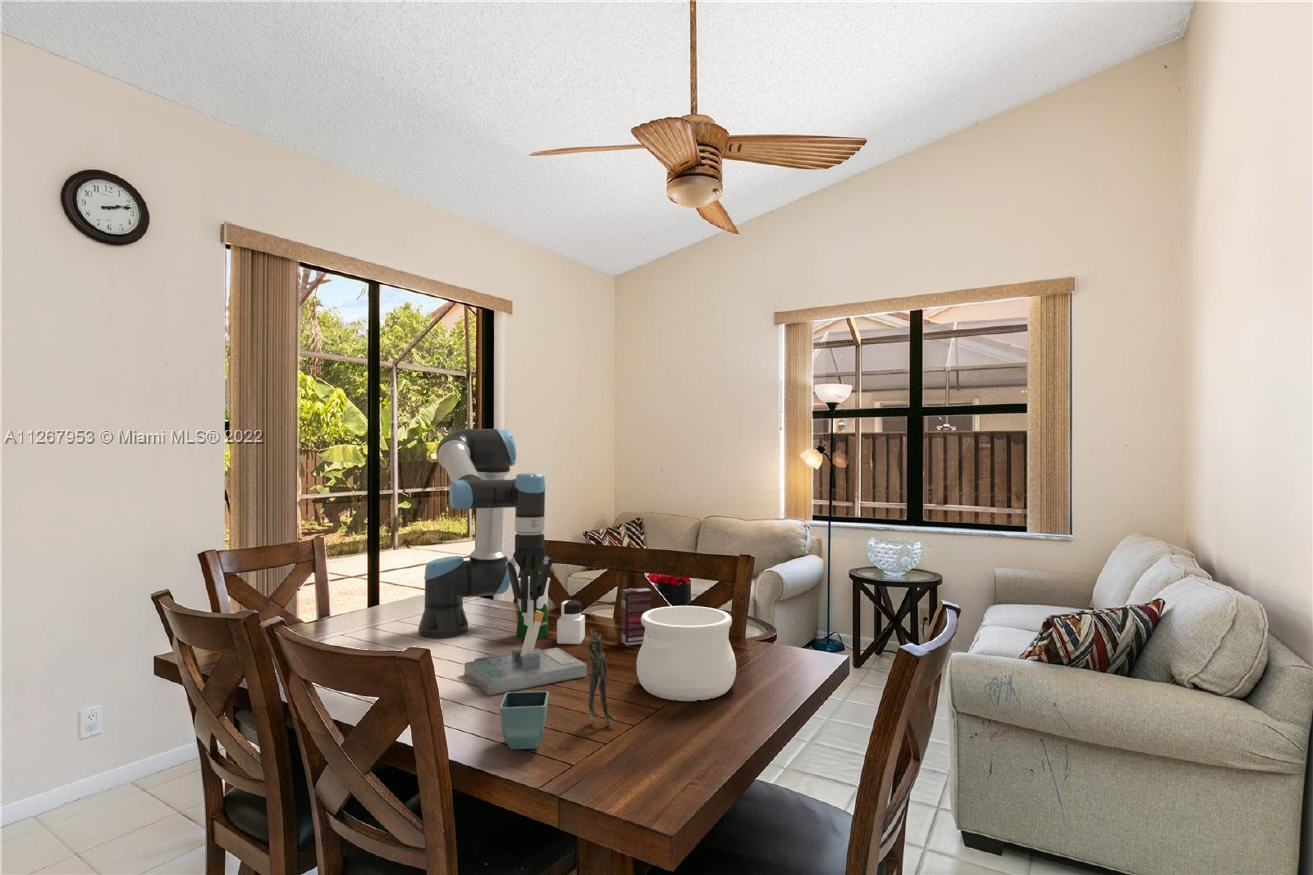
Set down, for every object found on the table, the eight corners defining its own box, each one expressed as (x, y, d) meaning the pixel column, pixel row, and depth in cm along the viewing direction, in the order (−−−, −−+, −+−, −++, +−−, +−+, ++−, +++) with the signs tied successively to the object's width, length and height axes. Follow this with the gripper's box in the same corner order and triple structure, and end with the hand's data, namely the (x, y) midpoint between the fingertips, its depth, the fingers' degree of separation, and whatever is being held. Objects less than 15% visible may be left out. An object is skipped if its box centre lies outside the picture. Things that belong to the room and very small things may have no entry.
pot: (686, 664, 187) (686, 599, 188) (758, 687, 170) (758, 615, 170) (613, 687, 169) (613, 615, 169) (686, 715, 152) (686, 635, 152)
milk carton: (532, 641, 209) (532, 575, 209) (511, 637, 214) (512, 572, 214) (552, 635, 216) (553, 571, 216) (532, 631, 221) (532, 568, 221)
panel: (464, 674, 178) (464, 651, 178) (557, 658, 192) (557, 636, 192) (488, 695, 163) (488, 670, 163) (586, 676, 177) (586, 652, 177)
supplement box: (647, 639, 212) (647, 587, 212) (652, 643, 208) (653, 590, 208) (620, 641, 209) (620, 589, 210) (625, 645, 205) (625, 592, 205)
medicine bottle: (585, 638, 213) (585, 599, 213) (580, 644, 206) (580, 604, 206) (562, 637, 214) (562, 598, 214) (556, 643, 207) (556, 603, 207)
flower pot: (504, 736, 140) (505, 691, 140) (548, 734, 141) (549, 690, 141) (498, 755, 131) (499, 707, 132) (545, 753, 132) (545, 706, 132)
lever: (518, 658, 179) (531, 609, 181) (525, 659, 180) (538, 610, 182) (524, 662, 175) (537, 612, 177) (531, 663, 176) (544, 613, 178)
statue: (607, 733, 142) (607, 635, 142) (582, 726, 145) (582, 631, 145) (619, 725, 146) (620, 629, 146) (594, 719, 149) (595, 626, 149)
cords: (468, 668, 183) (468, 658, 183) (540, 656, 194) (541, 646, 194) (473, 673, 179) (473, 662, 179) (547, 660, 190) (547, 650, 190)
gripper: (510, 536, 172) (509, 631, 172) (558, 533, 179) (557, 624, 178) (500, 533, 178) (499, 624, 178) (547, 530, 185) (546, 618, 185)
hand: (528, 624), depth 178 cm, fingers closed
